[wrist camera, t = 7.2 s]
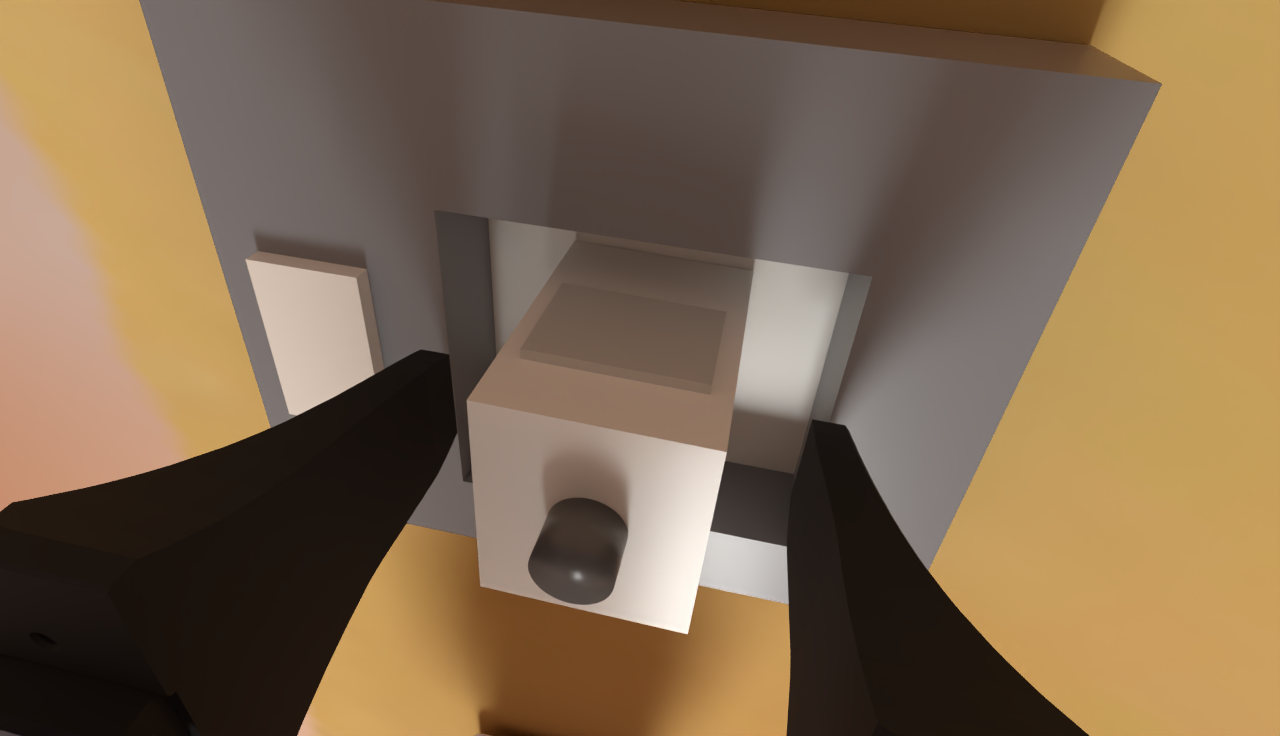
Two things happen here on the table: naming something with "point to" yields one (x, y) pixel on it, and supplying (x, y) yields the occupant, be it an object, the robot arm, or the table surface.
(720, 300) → the plug
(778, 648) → the table surface
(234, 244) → the socket plate
